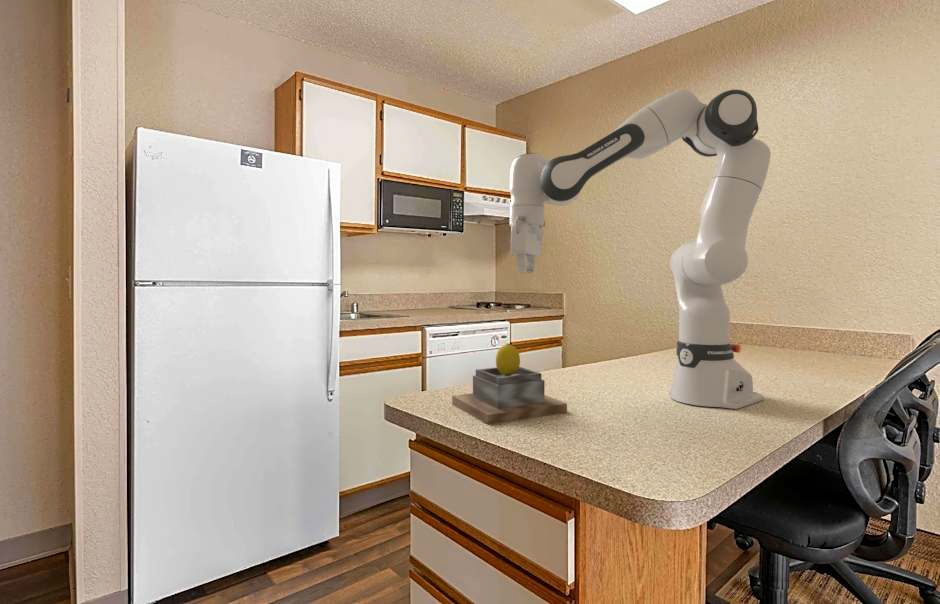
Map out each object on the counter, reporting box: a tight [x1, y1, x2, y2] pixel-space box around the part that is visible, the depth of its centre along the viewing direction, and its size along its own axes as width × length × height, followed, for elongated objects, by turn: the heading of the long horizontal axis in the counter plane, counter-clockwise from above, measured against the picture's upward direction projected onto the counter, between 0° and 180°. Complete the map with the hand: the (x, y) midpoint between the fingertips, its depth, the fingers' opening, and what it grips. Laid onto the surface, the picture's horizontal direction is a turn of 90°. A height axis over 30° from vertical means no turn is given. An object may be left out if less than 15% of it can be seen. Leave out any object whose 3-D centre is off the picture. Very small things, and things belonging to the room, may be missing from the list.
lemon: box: [495, 343, 521, 376], centre depth 114 cm, size 6×6×8 cm
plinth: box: [451, 366, 568, 425], centre depth 114 cm, size 20×18×8 cm
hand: (526, 273), depth 128 cm, fingers open, 8 cm apart
